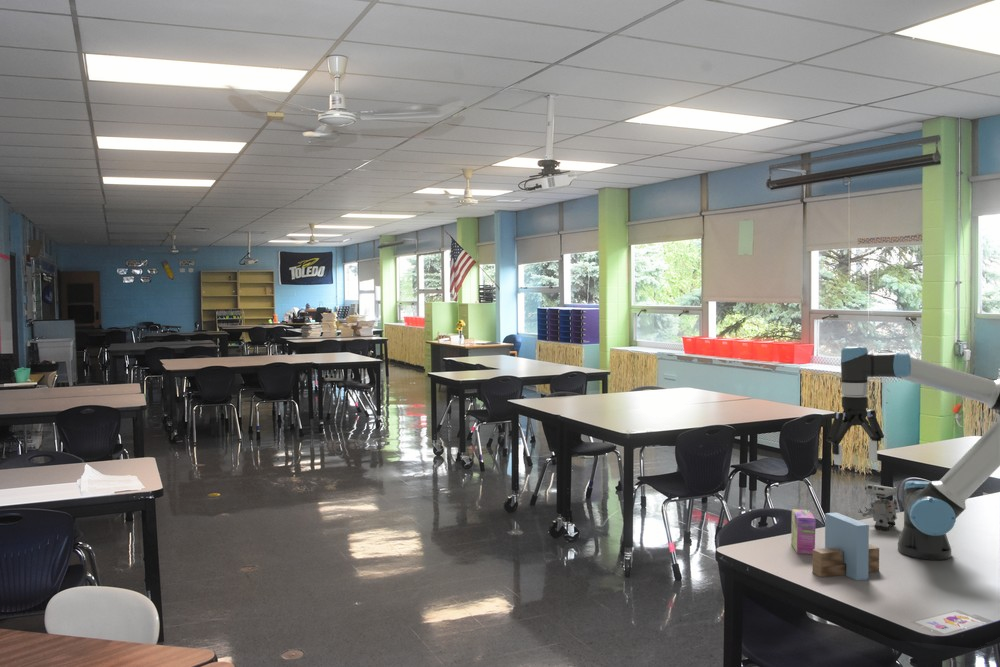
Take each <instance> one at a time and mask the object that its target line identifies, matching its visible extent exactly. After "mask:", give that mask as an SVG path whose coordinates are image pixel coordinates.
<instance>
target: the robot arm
mask: <svg viewBox="0 0 1000 667" xmlns="http://www.w3.org/2000/svg"><path fill="white" fill-rule="evenodd" d="M840 353H841V355H840V357H841V358H840V369H841V370H840V372H841V373H840V374H841V375H840V376H841V379H840V380H841V394H842V396H841V407H842V410H843V411H842V412H840V411H835V412H834V416H833V418H834V419H833V421H832V423H831V426H830V429H829V432H828V434H827V437H826V439H825V440H826V442H828V443H830V444H831V446H832V448H831V449H832V455H833V465H837V466H840V467H841V466H843V444H842V443H841V441H842V440H844V437H845V436H846V434H847V432H848V431H849V429H850V428H852V427H853V426H854V427H855V426H861V428H862V429H863V430H864V432H865V433H866V435H867V436H868V437H869V439H868V461H869V462H874V463H877V462H878V451H879V442H881V441H882V439H884V437H885V435H884V433H883V431H882V428H881V426H880V424H879V421H878V418H877V417H876V415H877V414H876V410H874V409H868V408H869V398H868V396H867V395H869V389H868V388H869V386H868V385H869V384H868V382H869V381H868V379H869V378H897V379H901V380H905V381H907V382H911V383H915V384H918V385H922V386H924V387H929V388H931V389H935V390H938V391H941V392H945V393H948V394H952V395H955V396H958V397H961V398H965V399H967V400H972V401H974V402H979V403H982V404H984V405H986V407H987V408H988V409H991V410H994V411H997V412H996V415H995V416H996V421H995V423H994V424H992V426H991V427H990V428H989V429H988V430H986V432H985V433H984V434H983V435H982V436H981V437H980V438H979V439H978V440H977V441H976V443H974V444H973V445H972V446H971V447H970V449H969V450H968V451H966V452H965V454H964V455H963V456H962V457H961V458H959V460H958V461H957V462H956V463H955V464H954V465H953V466H952V467H951V468H950V469H949V470H948V471H947V472H946V473H945V474H944V475H943V477H941V478H940V479H939V480H932V481H924V480H908V481H906V482H904V488H903V491H904V496H903V497H904V500H903V501H904V503H903V504H904V506H903V507H904V508H903V528H902V530H901V534H900V536H899V539H898V541H897V551H898V552H899V553H901V554H902V555H905V556H908V557H912V558H916V559H920V560H921V559H922V560H930V561H931V560H932V561H943V560H949V559H950V558H952V546H951V545H950V542H949V539H948V536H947V534H948V533H949V532H950V531H951V530H953V528H954V526H955V523H956V522H957V520H956V519H957V518H958V517H959V516H960V515H961V514H962V513H963V512H964V511H965V510H966V509H967V507H966V501H967V500H968V499H969V498H970V497H971V496H972V494H974V492H976V491H977V490H978V488H979V487H980V486H982V484H984V483H985V481H987V480H988V478H990V477H991V475H992V474H993V473H994V472H995V471H997V470H998V469H999V467H1000V378H998V379H995V380H993V379H989V378H986V377H983V376H979V375H975V374H971V373H968V372H964V371H961V370H958V369H953V368H951V367H946V366H943V365H940V364H937V363H932V362H929V361H926V360H922V359H918V358H915V357H912V356H911V355H910V353H907V352H894V351H892V350H888V349H886V350H880V351H879V352H875V353H874V352H868V348H867V347H865V346H845V347H842V349H841V352H840Z"/></svg>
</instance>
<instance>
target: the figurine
mask: <svg viewBox="0 0 1000 667" xmlns="http://www.w3.org/2000/svg"><path fill="white" fill-rule="evenodd" d="M864 490H865V495H870V496H875V497H876V499H874V501H873V502H871V503H870V508H869V509H868V508H867V507H866V506H865V507H864V509H865V510H864V512H862V510H861V509H860V508H859V509H857V513H861V514H862V517H865V518H866V516H871V515H872V521H873V522H875V525H874V528H875V530H879V531H880V530H882V531H885V532H886V531H888V530H889V529H890V528H889V526H891V527H894V526H896V520H897V519H898V516H897V511H896V510H899V508H898V507H899V506H898V502H897V499H895V498H894V497H891V498H890V499H886V498H888V497H890V496H897V489H896V488H895V487H890V486H884V485H883V484H881V485H878V484H871V483H866V486H865V487H864ZM892 499H893V500H892Z"/></svg>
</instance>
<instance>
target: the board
mask: <svg viewBox="0 0 1000 667" xmlns="http://www.w3.org/2000/svg"><path fill="white" fill-rule="evenodd" d="M824 518H825V519H824V523H825V524H824V525H825V526H824V528H825V529H824V548H833V547H834V548H836V549H838V550H840V551H843V563H845V564H846V575H845V576H847V577H848V578H850V579H853V580H854V581H867V580H869V572H868V558H869V544H870V543H869V539H870V535H869V534H870V531H869V530H870V527H869V526H870V525H869V524H868V523H866V522H862V521H860V520H857V519H854V518H852V517H849V516H846V515H844V514H842V513H839V512H827V513H825V517H824Z"/></svg>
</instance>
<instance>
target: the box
mask: <svg viewBox="0 0 1000 667" xmlns="http://www.w3.org/2000/svg"><path fill="white" fill-rule="evenodd" d="M816 523H817V520H816V518H815V516H814V514H813V513H812V512H811V511H810V510H809V509H795V508H794V509H791V536H790V537H791V539H790V542H791V543H790V544H791V546H792V547H793V549H794V551H795V552H797V553H796V554H800V553H809V554H808V555H813V549H816V527H817V526H816Z"/></svg>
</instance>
